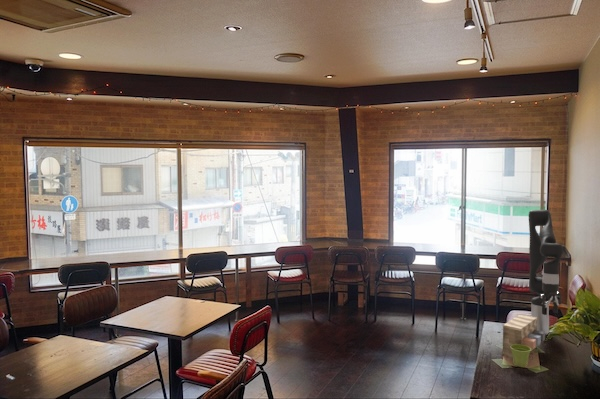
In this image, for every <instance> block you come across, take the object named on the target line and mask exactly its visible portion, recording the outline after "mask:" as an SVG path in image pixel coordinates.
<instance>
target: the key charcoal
mask: <svg viewBox="0 0 600 399" xmlns="http://www.w3.org/2000/svg"><path fill="white" fill-rule="evenodd" d="M532 334H535V335H539V336H541V342H544V341H545V340H546V335H545V332H542V331H537V330H534V331H532Z"/></svg>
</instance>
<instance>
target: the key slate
mask: <svg viewBox="0 0 600 399" xmlns="http://www.w3.org/2000/svg"><path fill="white" fill-rule="evenodd" d="M528 338H531V339H536V345H537V346H539V345H541V342H542V341H541V336H539V335H535V334H528Z"/></svg>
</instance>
